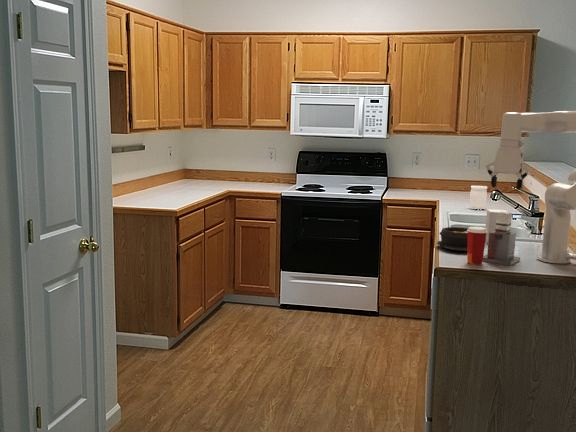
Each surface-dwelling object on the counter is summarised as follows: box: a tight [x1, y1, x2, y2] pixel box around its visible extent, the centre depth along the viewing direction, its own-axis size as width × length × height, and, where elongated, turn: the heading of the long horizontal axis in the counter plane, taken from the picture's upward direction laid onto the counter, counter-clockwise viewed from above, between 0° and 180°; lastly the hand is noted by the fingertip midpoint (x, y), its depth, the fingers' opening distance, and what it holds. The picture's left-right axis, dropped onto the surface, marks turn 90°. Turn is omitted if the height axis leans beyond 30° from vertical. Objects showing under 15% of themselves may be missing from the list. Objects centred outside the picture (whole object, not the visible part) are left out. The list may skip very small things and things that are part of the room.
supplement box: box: [485, 209, 509, 245], centre depth 290 cm, size 9×9×15 cm
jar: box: [469, 184, 488, 211], centre depth 403 cm, size 11×10×15 cm
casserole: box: [436, 226, 469, 252], centre depth 273 cm, size 25×19×8 cm
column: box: [495, 211, 513, 235], centre depth 250 cm, size 4×4×18 cm
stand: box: [482, 231, 521, 267], centre depth 251 cm, size 12×12×12 cm
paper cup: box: [466, 226, 487, 266], centre depth 245 cm, size 8×8×14 cm
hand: (506, 188), depth 247 cm, fingers open, 9 cm apart
